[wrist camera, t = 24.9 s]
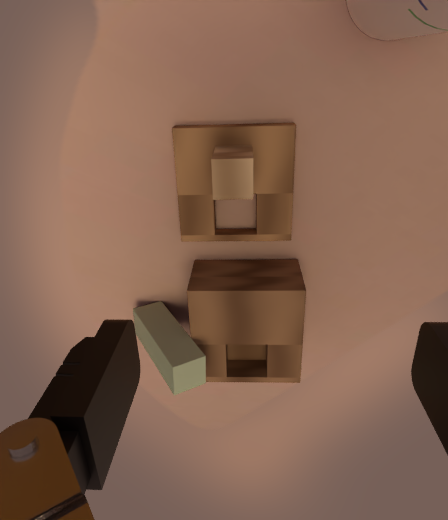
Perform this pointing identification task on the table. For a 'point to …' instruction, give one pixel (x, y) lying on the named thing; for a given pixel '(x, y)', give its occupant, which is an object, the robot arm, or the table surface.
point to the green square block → (170, 347)
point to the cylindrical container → (399, 17)
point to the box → (248, 319)
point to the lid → (235, 178)
